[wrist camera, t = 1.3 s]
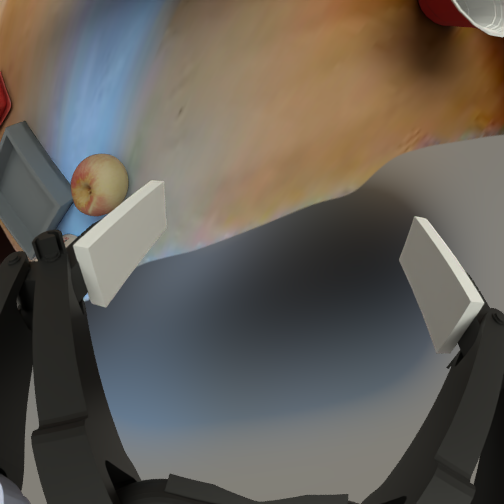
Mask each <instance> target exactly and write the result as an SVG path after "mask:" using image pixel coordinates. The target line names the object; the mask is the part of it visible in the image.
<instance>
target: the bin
mask: <svg viewBox="0 0 504 504" xmlns="http://www.w3.org/2000/svg"><path fill="white" fill-rule="evenodd" d="M73 202H74V201H73V198H72V193H71V185H70V183H69V182H68V181H67V180H66V178H65V177H64V176H63V174H62V173H61V172H60V170H59V169H58V168H57V166H56V165H55V164H54V162H53V161H52V159H51V158H50V157H49V155H48V154H47V153H46V151H45V150H44V148H43V147H42V145H41V144H40V143H39V141H38V140H37V138H36V137H35V135H34V134H33V132H32V131H31V129H30V128H29V126H28V125H27V123H26V122H25V121H23V122H20V123H17V124H14V125H12V126H9V127H6V129H5V132H4V134H3V137H2V139H1V142H0V219H1V220H2V222H3V223H4V225H5V226H6V228H7V229H8V230H9V232H10V233H11V235H12V236H13V237H14V239H15V240H16V241H17V243H18V244H19V245H20V247H21V248H22V249H23V251H24V252H26V254H27V256H28V257H29V258H30V260H32V259H33V258H34V257H35V256H36V255H35V252H34V249H33V246H32V241H33V239H34V238H35V237H36V236H38V235H39V234H41V233H43V232H46V231H49V230H55V229H56V228H57V226H58V224H59V223H60V221H61V220H62V218H63V217H64V215H65V214H66V212H67V211H68V209H69V208H70V206H71V205H72V203H73Z"/></svg>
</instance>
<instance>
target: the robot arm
mask: <svg viewBox="0 0 504 504" xmlns="http://www.w3.org/2000/svg"><path fill="white" fill-rule="evenodd" d="M166 228H167V220H166V206H165V190H164V181H153V180H151V181H150V182H148V183H147V184H146V185H144V186H143V187H142V188H140V189H139V190H138V191H137V192H135V193H134V194H133V195H131V196H130V197H129V198H128V199H126V200H125V201H124V202H123V203H121V204H120V205H119V206H118V207H116V208H115V209H114V210H113V211H112V212H110V213H109V214H108V215H107V216H106V217H104V218H103V219H101V220H99V221H97V222H96V223H94V224H92V225H91V226H90V227H89V228H87V229H86V231H84V232H83V233H82V234H81V236H78V237H77V238H76V239H75V240H74V241H73V242H72V243H71V244H70V245H68V246H67V247H65V243H64V240H63V236H62V233H61V231H59V230H49V231H46V232H43V233H41V234H39V235H38V236H36V237H35V238H34V239H33V241H32V246H33V249H34V252H35V255H36V257H37V260H38V261H32V262H29V260H28V257H27V255H26V252H23V251H18V252H13V253H12V254H10V255H9V256H8V257H7V258H5V260H4V261H3V262H2V264H1V266H0V504H30V502H29V500H28V499H27V498H26V497H25V496H23V494H22V492H21V490H22V484H23V475H24V444H25V443H24V441H25V422H26V411H27V401H28V393H29V386H30V379H31V373H32V367H33V372H34V385H35V394H36V404H37V411H38V418H39V428H38V429H37V430H35V431H33V433H32V436H31V439H32V448H33V453H34V458H35V461H36V466H37V470H38V474H39V478H40V482H41V485H42V488H43V492H44V495H45V498H46V501H47V504H358V503H355V502H351V501H348V494H342V495H341V494H340V495H304V496H299V497H293V498H287V499H281V500H274V501H265V502H257V501H253V500H250V499H248V498H245V497H243V496H240V495H237V494H235V493H232V492H230V491H227V490H225V489H223V488H220V487H218V486H216V485H213V484H209V483H204V482H200V481H196V480H191V479H188V478H184V477H180V476H176V475H173V474H170V475H169V478H168V479H151V480H143V481H141V479H140V477H139V475H138V473H137V471H136V469H135V467H134V466H133V464H132V462H131V461H130V459H129V458H128V456H127V454H126V453H125V451H124V448H123V446H122V443H121V441H120V438H119V436H118V433H117V430H116V427H115V424H114V422H113V419H112V416H111V413H110V410H109V407H108V403H107V400H106V397H105V393H104V390H103V386H102V383H101V379H100V375H99V372H98V368H97V363H96V359H95V355H94V350H93V346H92V341H91V336H90V331H89V325H88V320H87V313H86V307H85V303H84V301H83V297H84V296H85V295H86V294H87V292H88V295H89V298H90V300H91V303H92V304H96V305H99V306H102V307H107V306H108V304H109V303H110V301H111V300H112V299H113V297H114V296H115V294H116V293H117V292H118V290H119V289H120V288H121V286H122V285H123V284H124V282H125V281H126V280H127V278H128V277H129V275H130V274H131V273H132V272H133V270H134V269H135V268H136V266H137V265H138V264H139V262H140V261H141V260H142V258H143V257H144V256H145V255H146V253H147V252H148V251H149V250H150V248H151V247H152V246H153V244H154V243H155V242H156V241H157V239H158V238H159V237H160V236H161V235H162V233H163V232H164V231H165V230H166ZM399 261H400V263H401V265H402V268H403V269H404V272H405V274H406V276H407V279H408V281H409V283H410V286H411V288H412V290H413V293H414V295H415V297H416V300H417V302H418V304H419V307H420V310H421V312H422V315H423V317H424V320H425V322H426V325H427V328H428V330H429V333H430V336H431V339H432V342H433V345H434V348H435V351H436V353H451V351H452V350H453V348H454V347H455V346H456V345H457V343H458V345H459V347H460V351H459V352H458V354H457V355H456V356H455V358H454V359H453V360H452V361H451V363H450V364H449V365H448V366H447V368H448V369H449V367H450V366H451V369H450V371H449V373H448V376H447V378H446V380H445V382H444V385H443V387H442V389H441V391H440V393H439V395H438V397H437V399H436V401H435V403H434V405H433V407H432V409H431V410H430V412H429V414H428V416H427V418H426V420H425V421H424V423H423V425H422V427H421V428H420V430H419V432H418V433H417V435H416V437H415V438H414V440H413V441H412V443H411V445H410V446H409V448H408V449H407V451H406V452H405V454H404V455H403V457H402V458H401V460H400V461H399V463H398V464H397V466H396V467H395V468H394V470H393V471H392V472H391V474H390V475H389V476H388V478H387V479H386V480H385V482H384V483H383V484H382V485H381V486H380V487H379V488H378V489H377V490H375V491H374V492H373V493H372V494H370V495H369V496H368V497H367V498H366V499H365V500H364V501H363V502H362V503H361V504H504V314H503V313H502V312H501V311H499V310H497V309H494V308H490V307H489V306H488V304H487V302H486V301H485V299H484V297H483V296H482V294H481V292H480V291H478V287H477V286H476V285H475V283H474V281H473V280H472V278H471V277H470V275H468V273H466V272H465V271H464V269H463V268H462V266H461V265H460V263H459V262H458V260H457V259H456V258H455V256H454V255H453V253H452V252H451V251H450V249H449V248H448V246H447V245H446V244H445V242H444V241H443V240H442V238H441V237H440V236H439V234H438V233H437V232H436V230H435V229H434V228H433V227H432V225H431V224H430V223H429V222H428V221H427V219H425V218H421V217H416V216H414V220H413V222H412V226H411V228H410V231H409V234H408V237H407V240H406V243H405V246H404V248H403V251H402V253H401V256H400V259H399ZM16 301H17V302H18V304H19V306H18V308H17V302H16ZM479 457H480V459H479ZM478 459H479V464H478V469H477V473H476V477H475V481H474V485H473V484H471V483H470V478H471V475H472V473H473V471H474V468H475V466H476V464H477V462H478Z"/></svg>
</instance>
